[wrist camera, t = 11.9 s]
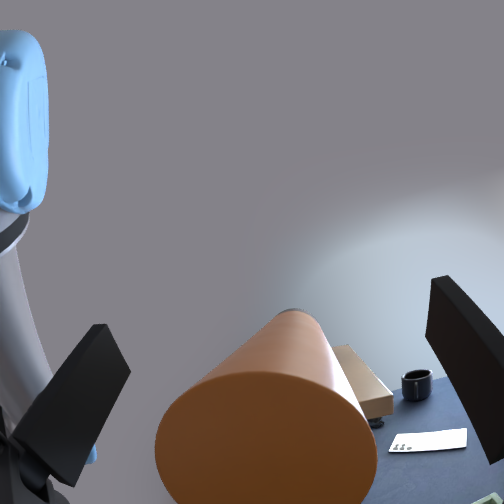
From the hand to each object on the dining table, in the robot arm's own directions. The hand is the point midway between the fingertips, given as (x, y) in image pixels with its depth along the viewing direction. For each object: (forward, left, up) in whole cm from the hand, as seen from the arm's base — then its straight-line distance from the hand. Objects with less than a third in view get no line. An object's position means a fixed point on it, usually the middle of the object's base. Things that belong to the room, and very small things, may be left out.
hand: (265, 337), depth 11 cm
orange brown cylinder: (0, +3, -4) cm, 4 cm away
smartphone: (+24, +42, -34) cm, 59 cm away
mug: (+30, +67, -34) cm, 81 cm away
